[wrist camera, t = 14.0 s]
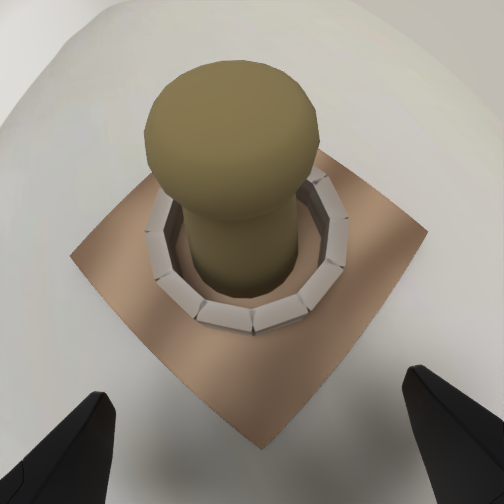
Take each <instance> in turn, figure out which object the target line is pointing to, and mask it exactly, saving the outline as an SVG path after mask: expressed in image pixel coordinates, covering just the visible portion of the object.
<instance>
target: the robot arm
mask: <svg viewBox="0 0 504 504" xmlns="http://www.w3.org/2000/svg"><path fill="white" fill-rule="evenodd" d="M402 392H403V396H404V399H405V403H406V407H407V411H408V415H409V419H410V423H411V427H412V430H413V434H414V437H415V439H416V442H417V445H418V448H419V450H420V453H421V456H422V459H423V462H424V464H425V467H426V470H427V473H428V476H429V479H430V482H431V485H432V488H433V491H434V495H435V498H436V501H437V504H504V421H503V420H502V419H500V418H499V417H497V416H496V415H494V414H493V413H491V412H490V411H489V410H487V409H486V408H484V407H483V406H481V405H480V404H478V403H477V402H476V401H474V400H473V399H471V398H470V397H468V396H467V395H465V394H464V393H462V392H461V391H460V390H458V389H457V388H455V387H454V386H452V385H451V384H449V383H448V382H446V381H445V380H444V379H442V378H441V377H439V376H438V375H436V374H435V373H433V372H432V371H430V370H429V369H428V368H426V367H425V366H423V365H415V366H411V367H409V368H408V370H407V373H406V375H405V378H404V381H403V384H402ZM115 421H116V410H115V408H114V406H113V404H112V402H111V401H110V399H109V397H108V395H107V394H106V393H105V392H97V391H94V392H92V393H90V394H89V395H88V396H87V397H86V398H85V399H84V400H83V401H82V402H81V403H80V404H79V405H78V406H77V407H76V408H75V409H74V410H73V411H72V412H71V413H70V414H69V415H68V416H67V417H66V418H65V419H64V420H62V421H61V422H60V423H59V424H58V425H57V426H56V427H55V428H54V429H53V430H52V431H51V432H50V433H49V434H48V435H47V436H46V437H45V438H44V439H43V440H42V441H41V442H40V443H39V444H38V445H37V446H36V447H35V448H34V449H33V450H32V451H31V452H30V453H29V454H28V455H26V456H25V457H24V458H23V461H22V460H21V461H20V462H19V463H18V464H17V465H16V466H15V467H14V468H13V469H12V470H11V471H10V472H9V473H8V474H7V475H5V476H4V477H3V478H2V479H1V480H0V504H105V499H106V493H107V487H108V480H109V475H110V469H111V463H112V457H113V445H114V432H115Z"/></svg>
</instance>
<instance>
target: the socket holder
mask: <svg viewBox="0 0 504 504" xmlns="http://www.w3.org/2000/svg"><path fill="white" fill-rule="evenodd" d="M296 207H297V229H298V257H297V260H296V263H295V266H294V269H293V271H292V272H291V274H290V275H289V276H288V278H287V279H286V280H285V282H284V283H283V284H282V285H280V286H279V287H277V288H276V289H274V290H273V291H272V292H270V293H269V294H265V295H262V296H259V297H255V298H252V299H247V298H232V297H229V296H226V295H223V294H220V293H217V292H216V291H215V290H213V289H212V288H211V287H209V286H208V285H207V284H206V283H204V282H203V280H202V279H201V277H200V276H199V274H198V273H197V271H196V270H195V268H194V264H193V260H192V256H191V252H190V247H189V242H188V237H187V232H186V226H185V221H184V216H183V210H182V205H180V204H179V203H178V202H176V201H175V200H173V199H172V198H171V197H170V196H168V195H167V194H166V193H165V192H164V190H163V189H162V187H161V186H160V184H159V183H158V181H157V179H156V178H155V176H154V175H153V173H151V174H150V175H148V176H147V177H146V178H145V179H144V180H143V181H142V182H141V183H140V184H139V185H138V186H137V187H136V188H135V189H134V190H133V191H131V192H130V193H129V194H128V195H127V196H126V197H125V198H124V199H123V200H122V201H121V202H120V203H119V204H118V205H117V206H116V207H115V208H114V209H113V210H112V211H111V212H110V213H109V214H108V215H107V216H106V217H105V218H104V219H103V220H102V221H101V222H100V223H99V225H98V226H97V227H96V228H95V229H94V230H93V231H92V232H91V233H90V234H89V235H88V236H87V237H86V238H85V239H84V241H83V242H82V243H81V244H80V245H79V246H78V247H77V248H76V249H75V250H74V252H73V253H72V254H71V255H70V257H71V259H72V260H73V261H74V262H75V264H76V265H77V266H78V268H79V269H80V270H81V272H82V273H83V274H84V275H85V277H86V278H87V279H88V280H89V282H90V283H91V284H92V285H93V287H94V288H95V289H96V290H97V291H98V293H99V294H100V295H101V296H102V297H103V299H104V300H105V301H106V302H107V303H108V305H109V306H110V307H111V308H112V309H113V310H114V312H115V313H116V314H117V315H118V316H119V317H120V318H121V320H122V321H123V322H124V323H125V324H126V325H127V326H128V327H129V328H130V330H131V331H132V332H133V333H134V334H135V335H136V336H137V337H138V338H139V339H140V340H141V341H142V342H143V344H144V345H145V346H146V347H147V348H148V349H149V350H150V351H151V352H152V353H153V354H154V355H155V356H156V357H157V358H158V359H159V360H160V361H161V362H162V363H163V364H164V365H165V366H166V367H167V368H168V369H169V370H170V371H171V372H172V373H173V374H174V375H175V376H176V377H177V378H178V379H179V380H180V381H181V382H182V383H184V384H185V385H186V386H187V387H188V388H189V389H190V390H191V391H192V392H193V393H194V394H195V395H196V396H198V397H199V398H200V399H201V400H202V401H203V402H204V403H205V404H207V405H208V406H209V407H210V408H211V409H212V410H213V411H214V412H216V413H217V414H218V415H219V416H220V417H221V418H223V419H224V420H225V421H226V422H227V423H229V424H230V425H231V426H232V427H233V428H235V429H236V430H237V431H238V432H240V433H241V434H242V435H243V436H245V437H246V438H247V439H248V440H250V441H251V442H252V443H253V444H255V445H256V446H257V447H259V448H260V449H261V450H262V449H263V448H264V447H265V446H266V445H267V444H268V443H269V442H270V441H271V440H272V439H273V438H274V437H275V436H276V435H277V434H278V433H279V432H280V431H281V430H282V429H283V428H284V427H285V426H286V425H287V423H288V422H289V421H290V420H291V419H292V418H293V417H294V416H295V415H296V414H297V413H298V411H299V410H300V409H301V408H302V407H303V406H304V405H305V404H306V402H307V401H308V400H309V399H310V398H311V397H312V396H313V394H314V393H315V392H316V391H317V390H318V389H319V387H320V386H321V385H322V384H323V383H324V381H325V380H326V379H327V378H328V377H329V375H330V374H331V373H332V372H333V370H334V369H335V368H336V367H337V365H338V364H339V363H340V362H341V360H342V359H343V358H344V357H345V355H346V354H347V353H348V351H349V350H350V349H351V347H352V346H353V345H354V344H355V342H356V341H357V340H358V338H359V337H360V336H361V334H362V333H363V331H364V330H365V329H366V327H367V326H368V325H369V323H370V322H371V320H372V319H373V318H374V316H375V315H376V313H377V312H378V310H379V309H380V308H381V306H382V305H383V303H384V302H385V300H386V299H387V297H388V296H389V294H390V293H391V291H392V290H393V288H394V287H395V285H396V284H397V282H398V281H399V279H400V278H401V276H402V274H403V273H404V271H405V270H406V268H407V267H408V265H409V263H410V262H411V260H412V258H413V257H414V255H415V253H416V252H417V250H418V248H419V247H420V245H421V243H422V242H423V240H424V238H425V236H426V235H427V233H428V231H427V230H426V229H424V228H423V227H422V226H421V225H420V224H419V223H417V222H416V221H415V220H414V219H413V218H411V217H410V216H409V215H408V214H406V213H405V212H404V211H403V210H402V209H400V208H399V207H398V206H396V205H395V204H394V203H393V202H391V201H390V200H389V199H388V198H386V197H385V196H384V195H382V194H381V193H380V192H379V191H377V190H376V189H375V188H373V187H372V186H371V185H369V184H368V183H367V182H365V181H364V180H362V179H361V178H360V177H358V176H357V175H356V174H354V173H353V172H351V171H350V170H349V169H347V168H346V167H344V166H343V165H342V164H340V163H339V162H337V161H336V160H334V159H333V158H331V157H330V156H329V155H327V154H326V153H324V152H323V151H321V150H320V149H318V150H317V154H316V157H315V160H314V164H313V167H312V170H311V173H310V175H309V176H308V178H307V179H306V180H305V181H304V183H303V184H302V185H301V186H300V188H299V189H298V190H297V191H296Z"/></svg>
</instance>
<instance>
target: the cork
mask: <svg viewBox="0 0 504 504" xmlns="http://www.w3.org/2000/svg"><path fill="white" fill-rule="evenodd" d="M144 138H145V148H146V155H147V162H148V165H149V167H150V169H151V171H152V173H153V175H154V176H155V178H156V179H157V181H158V183H159V184H160V186H161V187H162V189H163V190H164V192H165V193H166V194H167V195H168V196H170V197H171V198H172V199H173V200H175V201H176V202H178V203H179V204H180V205H182V210H183V216H184V221H185V226H186V232H187V237H188V242H189V247H190V252H191V256H192V260H193V264H194V268H195V270H196V271H197V273H198V274H199V276H200V277H201V279H202V280H203V282H204V283H206V284H207V285H208V286H209V287H211V288H212V289H213V290H215V291H216V292H217V293H220V294H223V295H226V296H229V297H232V298H247V299H252V298H255V297H259V296H262V295H265V294H269V293H270V292H272V291H273V290H274V289H276V288H277V287H279V286H280V285H282V284H283V283H284V282H285V280H286V279H287V278H288V276H289V275H290V274H291V272H292V271H293V269H294V266H295V263H296V260H297V257H298V229H297V207H296V191H297V190H298V189H299V188H300V186H301V185H302V184H303V183H304V181H305V180H306V179H307V178H308V176H309V175H310V173H311V170H312V167H313V164H314V160H315V157H316V154H317V150H318V147H319V143H320V139H319V132H318V124H317V117H316V110H315V108H314V106H313V105H312V103H311V101H310V100H309V98H308V97H307V95H306V93H305V92H304V90H303V89H302V88H301V86H300V85H299V84H298V83H297V82H296V81H295V80H293V79H292V78H291V77H290V76H288V75H287V74H286V73H284V72H283V71H280V70H278V69H276V68H273V67H271V66H269V65H266V64H262V63H257V62H251V61H245V60H235V61H220V62H215V63H210V64H206V65H202V66H199V67H197V68H195V69H192V70H190V71H188V72H186V73H184V74H182V75H180V76H179V77H178V78H176V79H175V80H174V81H172V82H171V83H170V84H168V85H167V86H166V87H165V88H164V89H163V91H162V92H161V93H160V95H159V96H158V97H157V99H156V100H155V101H154V103H153V106H152V108H151V110H150V113H149V116H148V119H147V123H146V126H145V130H144Z"/></svg>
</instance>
